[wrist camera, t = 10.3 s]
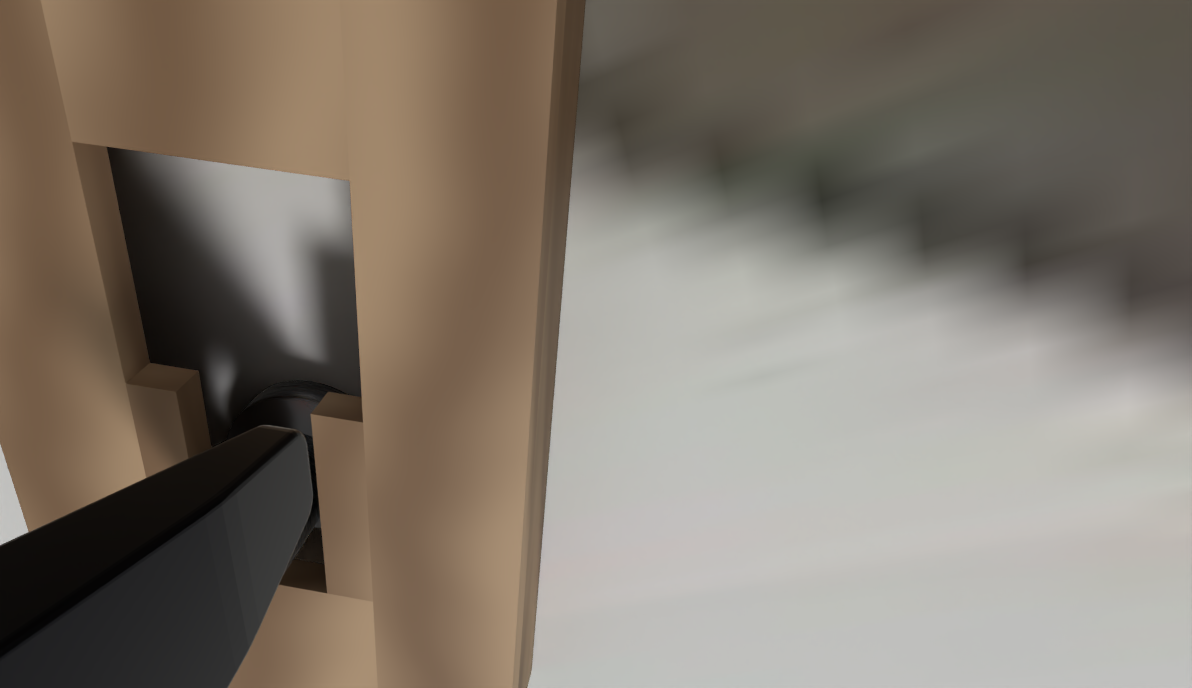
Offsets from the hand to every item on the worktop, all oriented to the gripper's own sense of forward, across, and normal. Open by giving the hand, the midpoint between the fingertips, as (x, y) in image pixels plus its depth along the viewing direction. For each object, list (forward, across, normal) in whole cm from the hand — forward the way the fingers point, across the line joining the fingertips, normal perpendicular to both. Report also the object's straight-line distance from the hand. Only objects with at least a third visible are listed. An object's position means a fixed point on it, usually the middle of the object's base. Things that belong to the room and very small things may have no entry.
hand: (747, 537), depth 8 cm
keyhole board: (+13, +11, +8) cm, 18 cm away
